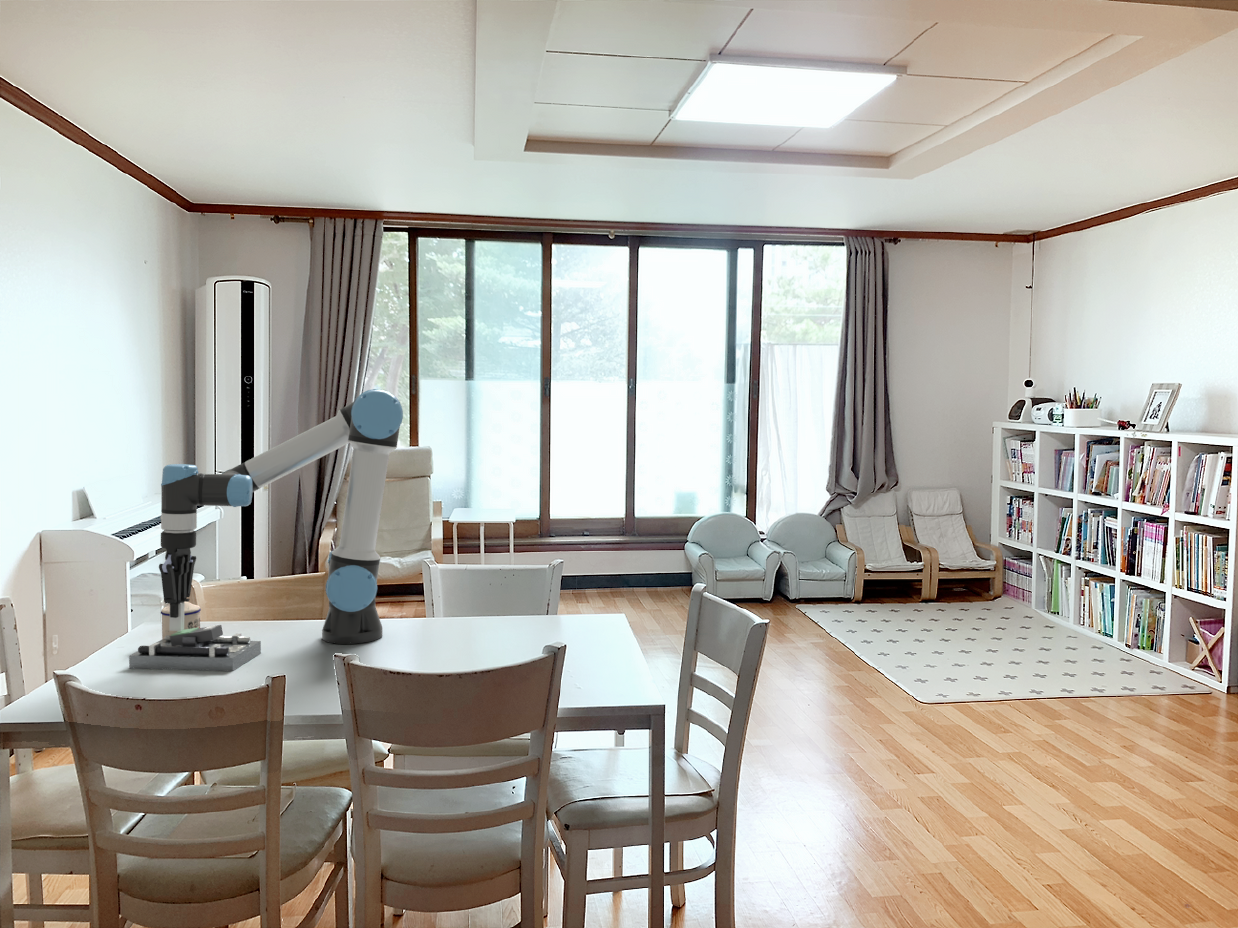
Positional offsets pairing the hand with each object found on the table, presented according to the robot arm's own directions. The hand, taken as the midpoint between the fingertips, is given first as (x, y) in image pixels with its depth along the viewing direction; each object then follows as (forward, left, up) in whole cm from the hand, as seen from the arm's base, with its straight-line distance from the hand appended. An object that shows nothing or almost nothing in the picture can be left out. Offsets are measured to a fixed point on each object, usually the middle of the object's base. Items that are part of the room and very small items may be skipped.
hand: (176, 629), depth 219 cm
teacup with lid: (+6, -16, -7) cm, 18 cm away
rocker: (-5, 0, -2) cm, 6 cm away
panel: (-5, 0, -7) cm, 9 cm away
